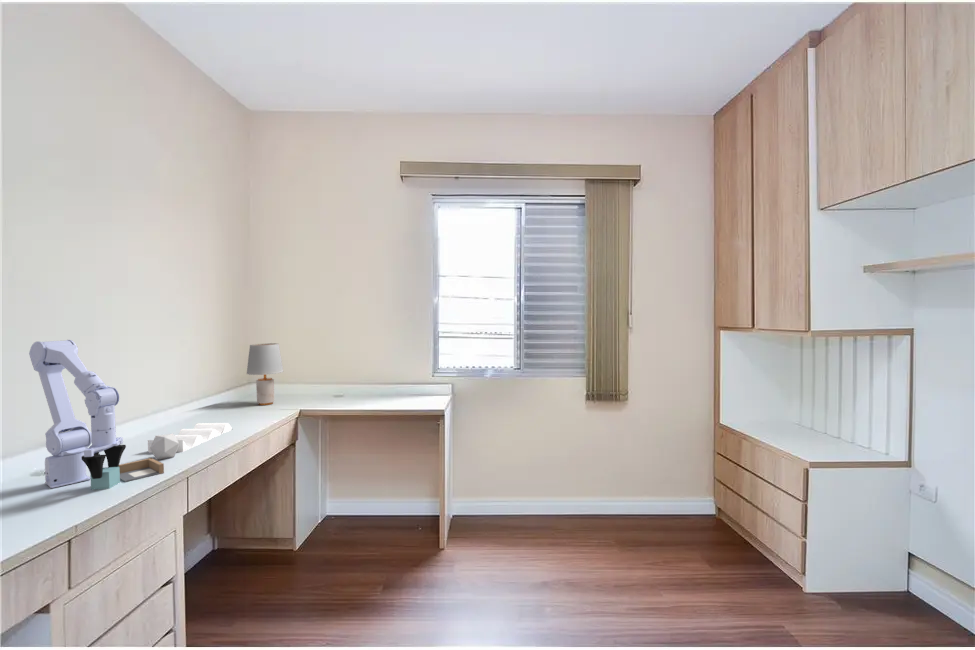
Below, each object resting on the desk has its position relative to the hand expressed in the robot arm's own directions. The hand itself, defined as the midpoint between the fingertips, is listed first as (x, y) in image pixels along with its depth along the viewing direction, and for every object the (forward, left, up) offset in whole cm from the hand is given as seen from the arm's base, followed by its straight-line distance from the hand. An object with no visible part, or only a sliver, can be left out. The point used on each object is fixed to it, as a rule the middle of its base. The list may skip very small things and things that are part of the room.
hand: (105, 474), depth 146 cm
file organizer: (+39, +37, -5) cm, 54 cm away
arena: (+10, +5, -4) cm, 11 cm away
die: (+22, +19, -4) cm, 29 cm away
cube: (0, 0, -4) cm, 4 cm away
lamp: (+96, +89, -4) cm, 131 cm away
